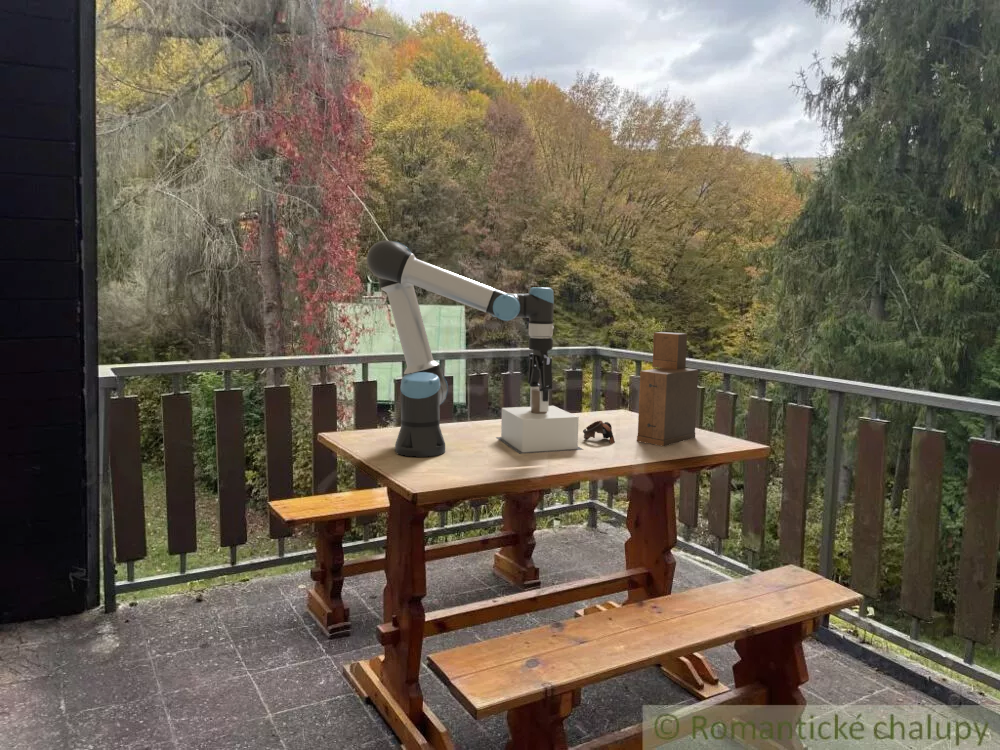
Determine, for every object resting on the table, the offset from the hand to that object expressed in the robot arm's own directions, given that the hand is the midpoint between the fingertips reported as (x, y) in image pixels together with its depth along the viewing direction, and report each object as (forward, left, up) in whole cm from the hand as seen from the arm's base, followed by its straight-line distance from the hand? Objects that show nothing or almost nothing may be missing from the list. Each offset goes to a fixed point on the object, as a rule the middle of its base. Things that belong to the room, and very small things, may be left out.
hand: (539, 409), depth 232 cm
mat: (0, 0, -12) cm, 12 cm away
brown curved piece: (+21, -1, -12) cm, 25 cm away
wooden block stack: (+45, -2, -12) cm, 47 cm away
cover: (0, 0, -11) cm, 11 cm away
